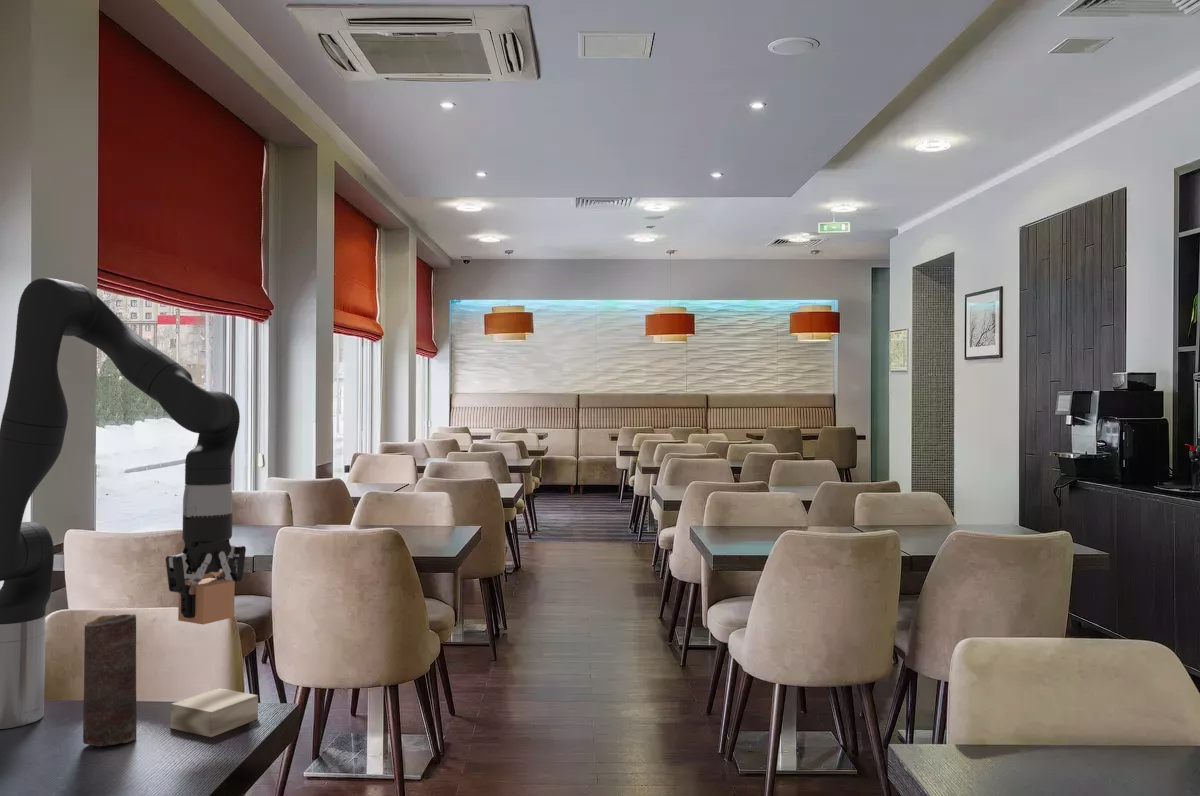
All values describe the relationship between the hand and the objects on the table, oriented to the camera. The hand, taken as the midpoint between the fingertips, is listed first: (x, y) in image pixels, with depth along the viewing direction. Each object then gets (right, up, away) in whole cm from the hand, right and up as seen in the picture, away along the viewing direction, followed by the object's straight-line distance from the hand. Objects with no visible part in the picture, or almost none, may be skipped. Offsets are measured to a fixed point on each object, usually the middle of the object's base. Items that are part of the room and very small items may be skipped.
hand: (206, 612), depth 145 cm
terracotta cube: (0, -1, 0) cm, 1 cm away
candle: (-12, -19, -7) cm, 24 cm away
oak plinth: (0, -19, +2) cm, 19 cm away
